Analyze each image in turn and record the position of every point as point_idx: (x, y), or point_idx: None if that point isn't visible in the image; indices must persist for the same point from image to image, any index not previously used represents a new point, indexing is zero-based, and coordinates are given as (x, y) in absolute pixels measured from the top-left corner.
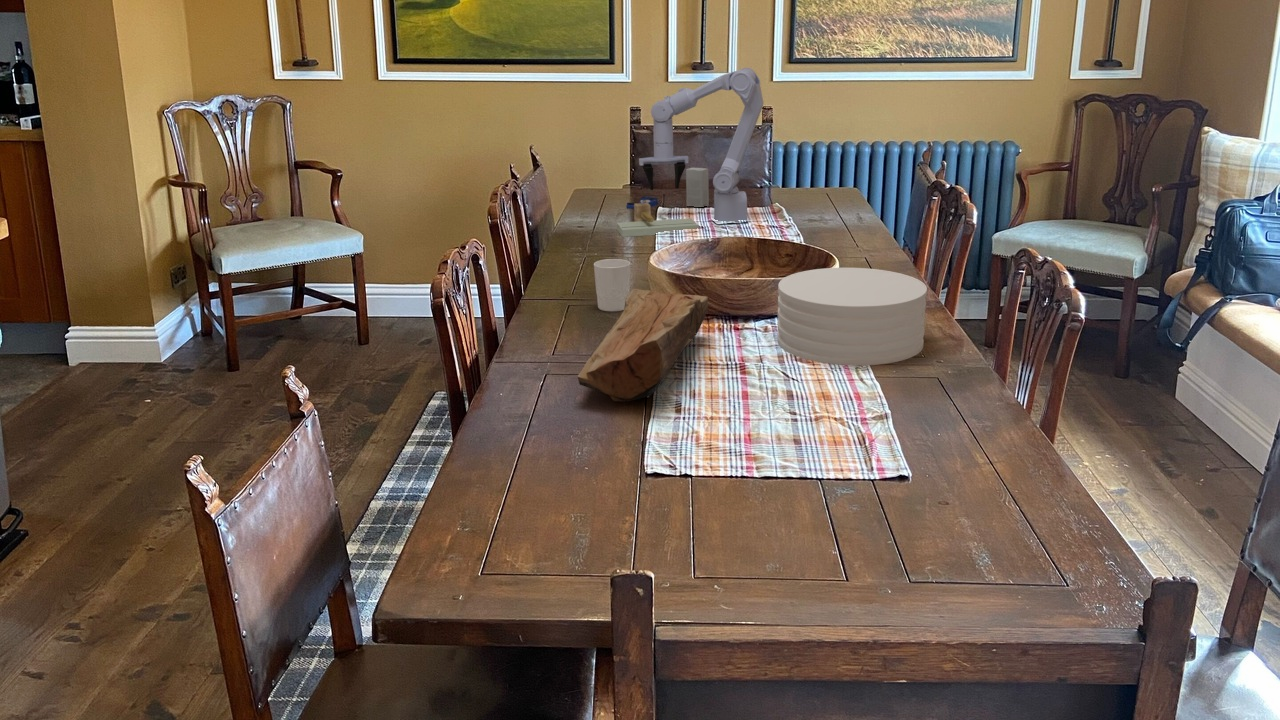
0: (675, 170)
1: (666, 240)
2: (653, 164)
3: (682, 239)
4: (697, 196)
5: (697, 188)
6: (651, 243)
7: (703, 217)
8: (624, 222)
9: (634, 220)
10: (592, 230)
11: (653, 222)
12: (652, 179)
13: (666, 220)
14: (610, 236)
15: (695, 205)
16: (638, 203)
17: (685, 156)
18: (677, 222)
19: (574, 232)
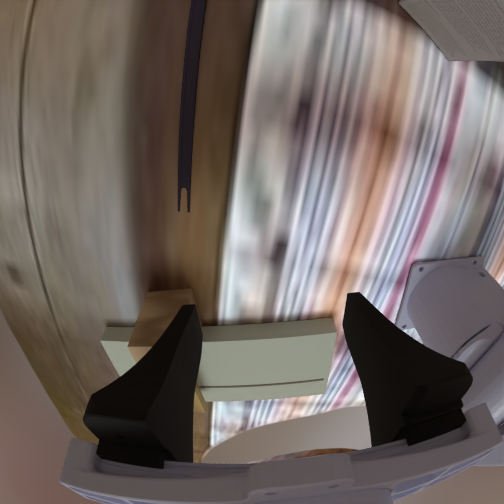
0: (387, 379)
1: (234, 416)
2: (192, 469)
3: (268, 415)
4: (462, 39)
5: (486, 37)
6: (203, 424)
7: (409, 218)
8: (120, 343)
9: (144, 305)
10: (51, 316)
11: (208, 361)
12: (192, 393)
13: (251, 347)
14: (109, 374)
15: (432, 34)
16: (144, 348)
17: (475, 461)
18: (280, 370)
19: (25, 322)
